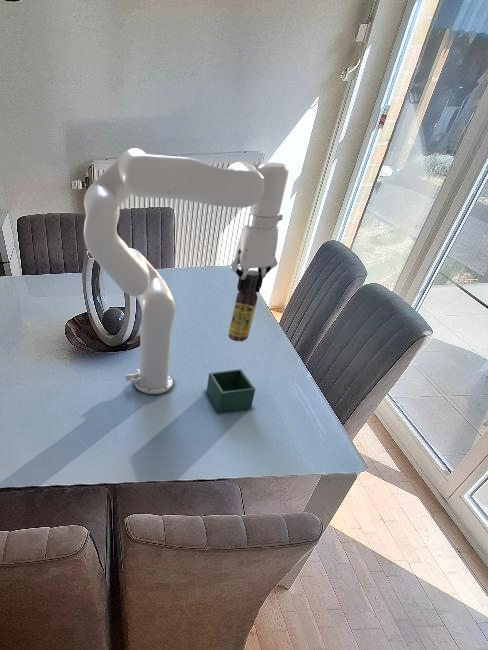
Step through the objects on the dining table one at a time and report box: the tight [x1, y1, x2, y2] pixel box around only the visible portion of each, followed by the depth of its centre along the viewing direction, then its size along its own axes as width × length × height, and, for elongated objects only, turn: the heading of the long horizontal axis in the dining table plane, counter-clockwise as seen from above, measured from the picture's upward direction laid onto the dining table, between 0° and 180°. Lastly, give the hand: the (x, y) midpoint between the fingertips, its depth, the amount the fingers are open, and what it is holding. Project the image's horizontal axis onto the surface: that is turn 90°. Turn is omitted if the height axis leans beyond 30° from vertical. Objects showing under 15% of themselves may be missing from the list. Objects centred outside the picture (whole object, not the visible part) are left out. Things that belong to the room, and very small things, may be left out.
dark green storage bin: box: [206, 368, 256, 413], centre depth 143 cm, size 11×12×7 cm
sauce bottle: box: [228, 269, 260, 342], centre depth 137 cm, size 6×6×20 cm
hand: (248, 290), depth 133 cm, fingers closed on sauce bottle, 4 cm apart
